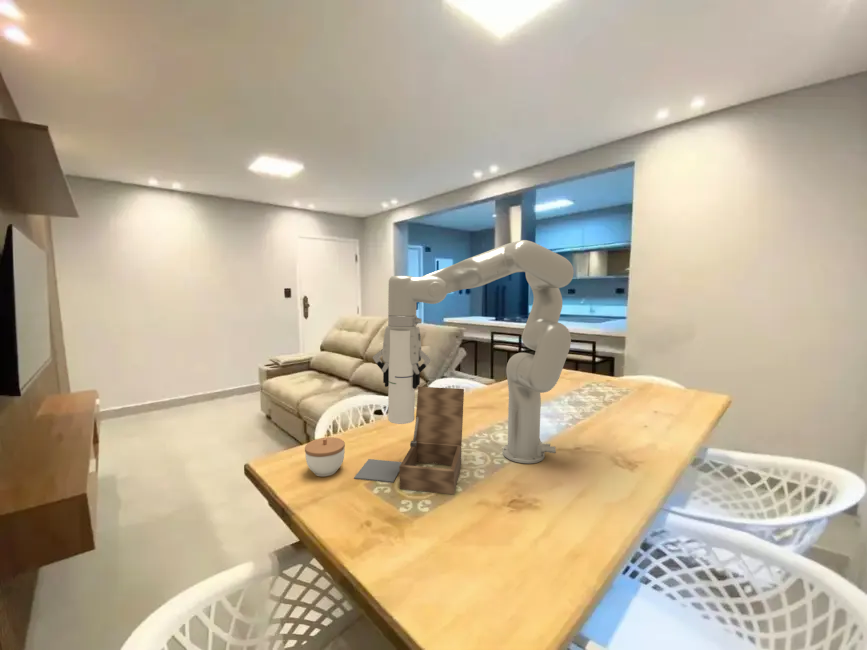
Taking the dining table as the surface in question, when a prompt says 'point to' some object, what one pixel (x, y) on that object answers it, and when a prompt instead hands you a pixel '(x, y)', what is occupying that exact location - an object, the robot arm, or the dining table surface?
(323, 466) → the lidded jar
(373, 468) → the mat
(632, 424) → the dining table surface
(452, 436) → the case
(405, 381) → the cylindrical container
